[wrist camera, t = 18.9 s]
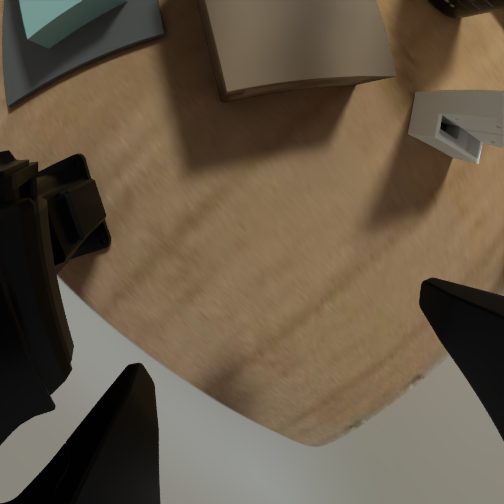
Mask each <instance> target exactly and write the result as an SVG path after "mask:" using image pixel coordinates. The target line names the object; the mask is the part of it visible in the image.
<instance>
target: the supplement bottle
mask: <svg viewBox="0 0 504 504" xmlns="http://www.w3.org/2000/svg"><path fill="white" fill-rule="evenodd" d="M428 1H429V2H430V3H431V4H432V5H433V6H434V7H435V8H437V9H438V10H439V11H441V12H442V13H444V14H445V15H447V16H450V17H453V18H464V17H468V16H473V15H478V14H483V13H489V12H495V11H501V10H504V0H428Z"/></svg>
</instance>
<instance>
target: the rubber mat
mask: <svg viewBox="0 0 504 504" xmlns="http://www.w3.org/2000/svg"><path fill="white" fill-rule="evenodd" d="M162 36H165V33H164V28H163V23H162V18H161V13H160V8H159V3H158V0H128V1H127V2H125V3H123V4H121V5H119V6H117V7H115V8H113V9H111V10H109V11H108V12H106V13H104V14H102V15H100V16H99V17H97V18H95V19H93V20H92V21H90V22H88V23H87V24H85V25H83V26H82V27H80V28H79V29H77V30H76V31H74V32H73V33H71V34H70V35H68V36H67V37H65V38H64V39H62V40H61V41H59V42H58V43H57V44H55V45H54V46H52V47H51V48H50V49H48V48H46V47H44V46H41V45H39V44H37V43H35V42H32V41H30V40H28V39H27V36H26V32H25V27H24V23H23V18H22V13H21V8H20V3H19V0H4V12H3V37H2V45H3V71H4V83H5V93H6V101H7V107H12V106H13V105H15V104H16V103H18V102H19V101H21V100H22V99H24V98H25V97H27V96H28V95H30V94H32V93H33V92H35V91H37V90H38V89H40V88H42V87H44V86H45V85H47V84H49V83H51V82H52V81H54V80H56V79H58V78H60V77H62V76H64V75H66V74H68V73H70V72H72V71H74V70H76V69H78V68H80V67H82V66H84V65H86V64H89V63H91V62H93V61H95V60H98V59H100V58H102V57H105V56H107V55H110V54H112V53H115V52H117V51H120V50H123V49H125V48H128V47H131V46H134V45H137V44H140V43H143V42H146V41H149V40H152V39H155V38H159V37H162Z"/></svg>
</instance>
